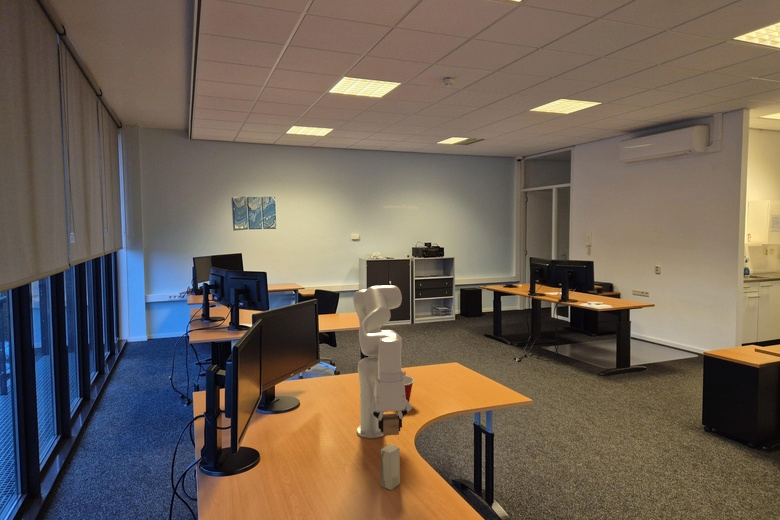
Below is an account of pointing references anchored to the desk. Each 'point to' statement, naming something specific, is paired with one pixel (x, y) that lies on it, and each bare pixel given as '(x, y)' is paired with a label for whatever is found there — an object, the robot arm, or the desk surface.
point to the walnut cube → (390, 424)
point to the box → (390, 466)
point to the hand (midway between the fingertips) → (390, 429)
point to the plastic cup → (408, 386)
